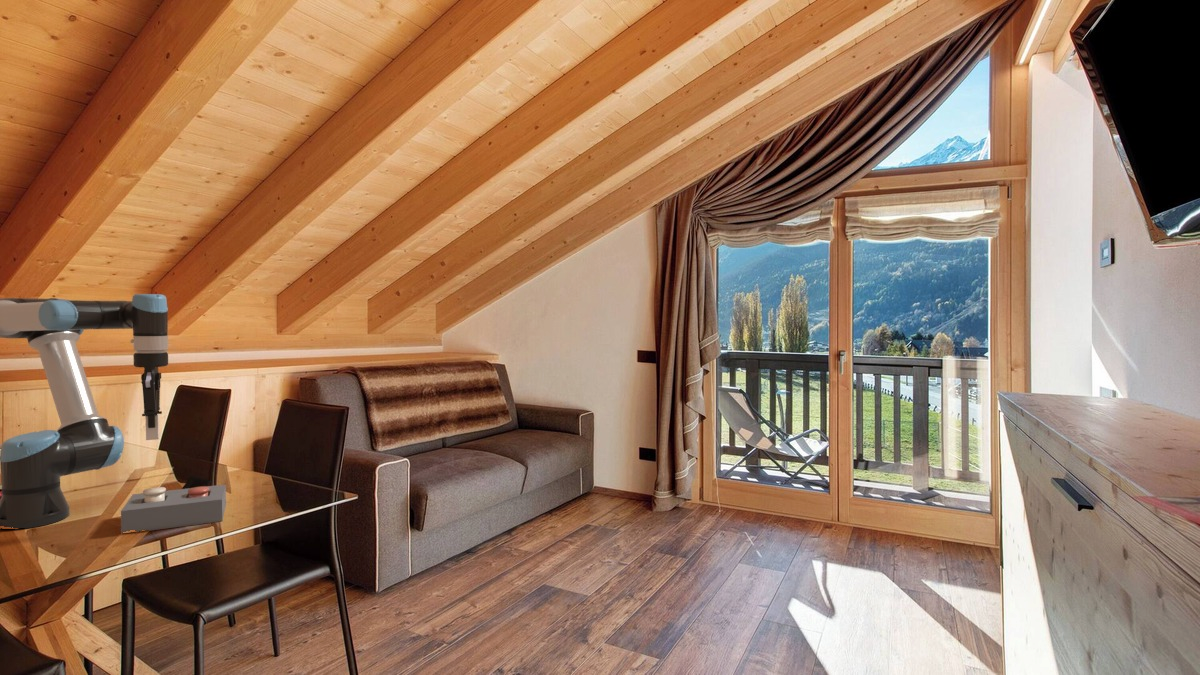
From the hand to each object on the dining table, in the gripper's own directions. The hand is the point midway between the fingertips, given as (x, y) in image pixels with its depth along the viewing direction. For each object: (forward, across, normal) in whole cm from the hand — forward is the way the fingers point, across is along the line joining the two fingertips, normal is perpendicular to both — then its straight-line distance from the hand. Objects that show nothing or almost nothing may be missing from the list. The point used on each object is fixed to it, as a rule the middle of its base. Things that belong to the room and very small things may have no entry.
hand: (152, 439), depth 167 cm
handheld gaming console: (+23, -20, +5) cm, 31 cm away
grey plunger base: (+22, 0, +5) cm, 23 cm away
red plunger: (+22, 0, +10) cm, 24 cm away
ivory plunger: (+21, 0, 0) cm, 21 cm away
